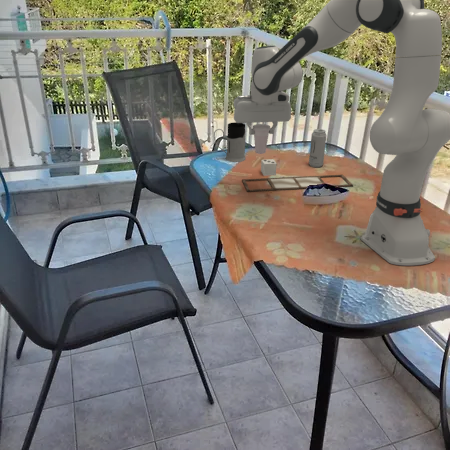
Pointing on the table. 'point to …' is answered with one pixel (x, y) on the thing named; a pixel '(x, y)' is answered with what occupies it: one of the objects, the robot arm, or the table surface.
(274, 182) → the board
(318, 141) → the energy drink can
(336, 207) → the table surface
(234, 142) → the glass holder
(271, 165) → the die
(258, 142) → the smoothie
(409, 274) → the table surface
